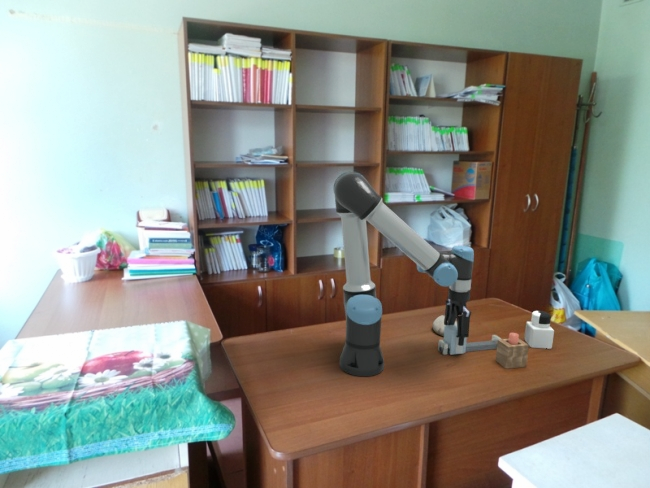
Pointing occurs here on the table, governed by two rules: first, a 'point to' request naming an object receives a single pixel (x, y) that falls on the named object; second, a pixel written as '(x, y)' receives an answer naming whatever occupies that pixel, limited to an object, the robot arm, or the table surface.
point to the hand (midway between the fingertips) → (454, 349)
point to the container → (539, 330)
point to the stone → (440, 325)
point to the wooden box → (511, 354)
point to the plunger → (513, 338)
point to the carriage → (452, 338)
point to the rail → (471, 345)
